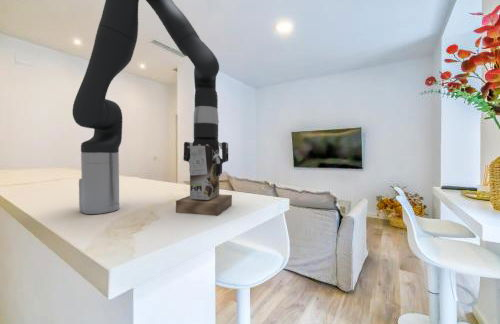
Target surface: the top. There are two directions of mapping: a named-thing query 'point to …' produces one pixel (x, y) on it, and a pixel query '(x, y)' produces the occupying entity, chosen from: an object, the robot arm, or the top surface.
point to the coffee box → (203, 173)
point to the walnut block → (204, 205)
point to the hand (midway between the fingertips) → (205, 175)
